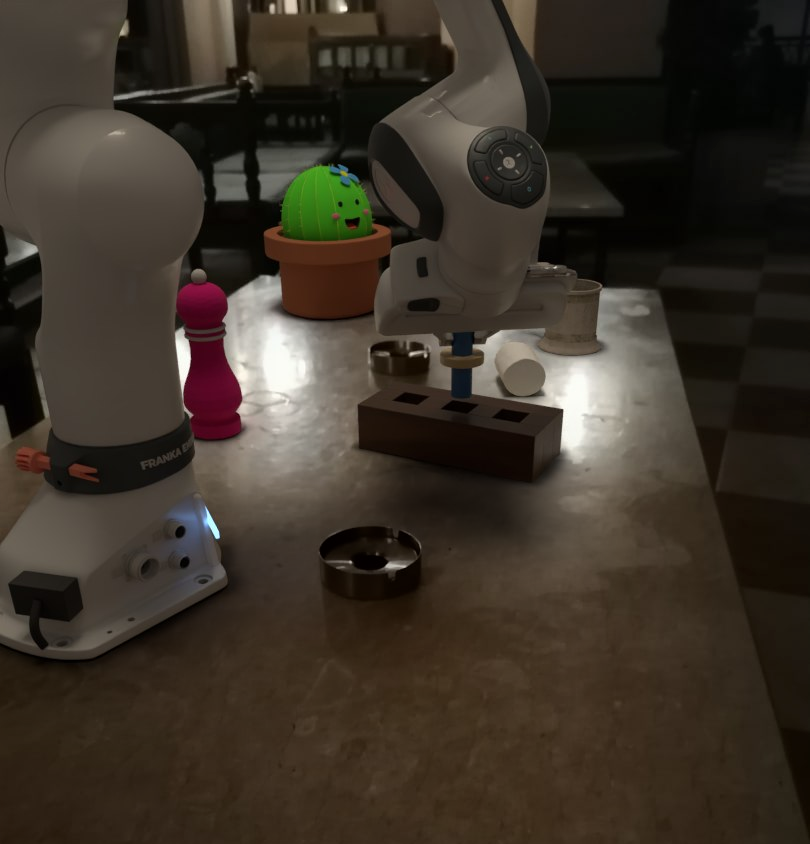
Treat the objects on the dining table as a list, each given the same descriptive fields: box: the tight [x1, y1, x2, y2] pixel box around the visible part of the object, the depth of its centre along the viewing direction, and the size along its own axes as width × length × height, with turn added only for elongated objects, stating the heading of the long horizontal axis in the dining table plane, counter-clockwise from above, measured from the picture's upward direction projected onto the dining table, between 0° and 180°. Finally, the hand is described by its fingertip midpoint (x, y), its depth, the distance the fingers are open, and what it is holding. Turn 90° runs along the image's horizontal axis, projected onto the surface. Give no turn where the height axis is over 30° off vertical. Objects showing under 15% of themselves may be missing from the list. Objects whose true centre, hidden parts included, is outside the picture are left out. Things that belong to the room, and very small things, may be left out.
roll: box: [493, 341, 547, 397], centre depth 128 cm, size 6×12×6 cm, turn 4°
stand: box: [357, 380, 565, 483], centre depth 107 cm, size 9×22×6 cm, turn 62°
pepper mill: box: [176, 268, 243, 440], centre depth 110 cm, size 7×7×20 cm
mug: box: [536, 261, 603, 356], centre depth 143 cm, size 14×10×12 cm
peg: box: [439, 332, 485, 399], centre depth 102 cm, size 5×5×11 cm
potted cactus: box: [263, 162, 392, 320], centre depth 161 cm, size 22×22×25 cm
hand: (461, 339), depth 103 cm, fingers closed on peg, 2 cm apart
